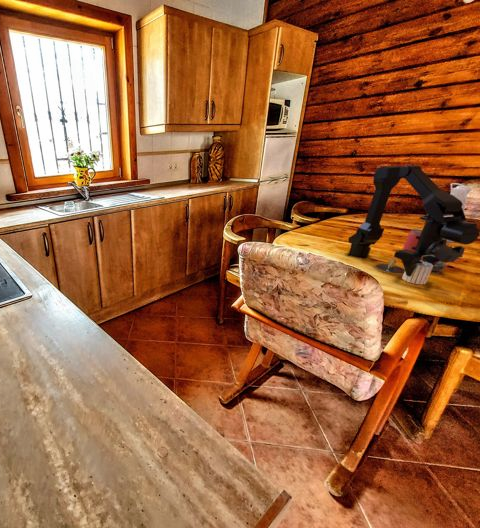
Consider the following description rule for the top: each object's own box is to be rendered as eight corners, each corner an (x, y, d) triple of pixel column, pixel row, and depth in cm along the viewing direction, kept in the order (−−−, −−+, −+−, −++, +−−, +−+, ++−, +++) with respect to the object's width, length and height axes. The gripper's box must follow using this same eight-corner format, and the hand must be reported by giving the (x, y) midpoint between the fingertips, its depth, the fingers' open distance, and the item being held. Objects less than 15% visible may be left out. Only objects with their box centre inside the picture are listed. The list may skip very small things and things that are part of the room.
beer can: (416, 260, 120) (427, 234, 116) (397, 255, 126) (406, 230, 121) (423, 257, 123) (434, 231, 118) (404, 252, 129) (413, 228, 124)
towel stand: (373, 269, 115) (376, 259, 113) (378, 263, 120) (382, 253, 118) (402, 276, 108) (406, 266, 107) (407, 269, 114) (411, 259, 112)
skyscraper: (433, 241, 139) (457, 184, 128) (425, 236, 146) (447, 181, 135) (456, 242, 136) (483, 184, 125) (446, 237, 143) (471, 181, 132)
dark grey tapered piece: (447, 275, 107) (460, 246, 102) (429, 274, 108) (441, 246, 104) (435, 269, 113) (447, 241, 108) (418, 268, 114) (429, 241, 109)
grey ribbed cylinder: (400, 280, 104) (407, 263, 101) (404, 275, 108) (410, 258, 105) (424, 286, 100) (432, 268, 97) (427, 280, 103) (434, 263, 100)
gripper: (437, 245, 88) (418, 288, 94) (484, 239, 90) (463, 281, 97) (400, 234, 98) (385, 274, 104) (444, 229, 100) (427, 268, 107)
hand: (415, 274), depth 103 cm, fingers closed on grey ribbed cylinder, 6 cm apart
